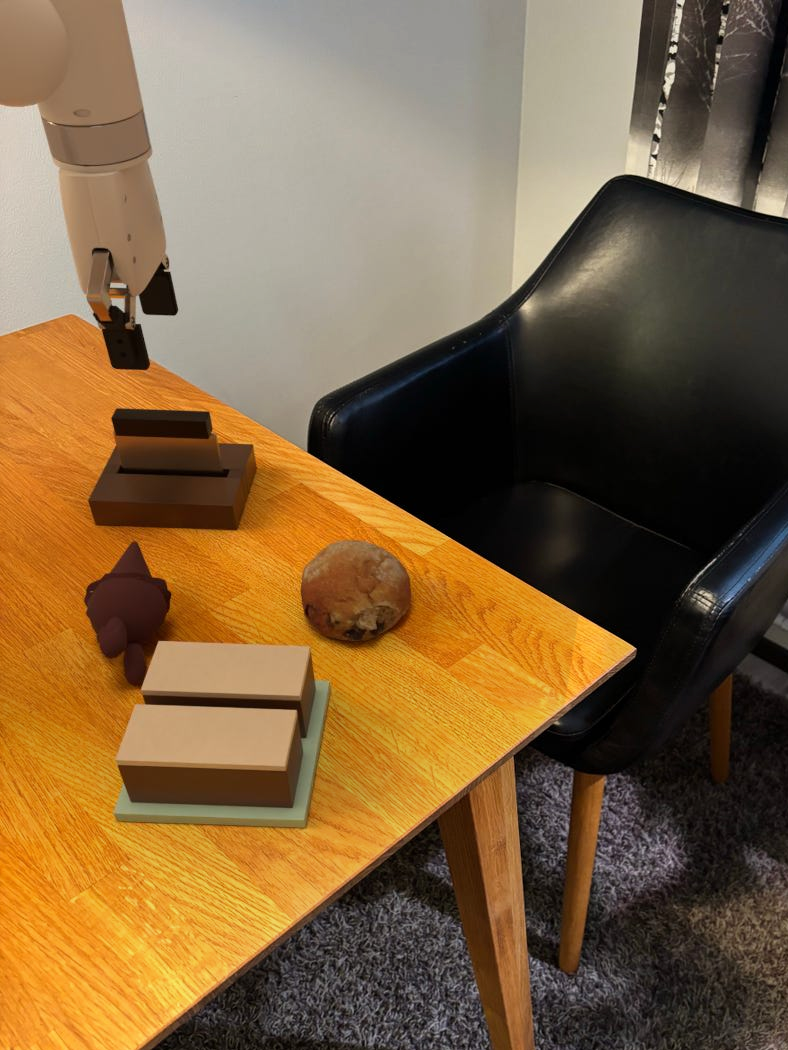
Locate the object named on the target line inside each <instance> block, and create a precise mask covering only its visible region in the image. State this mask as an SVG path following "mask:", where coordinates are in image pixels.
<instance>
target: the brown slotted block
mask: <svg viewBox="0 0 788 1050" xmlns="http://www.w3.org/2000/svg"><path fill="white" fill-rule="evenodd" d="M218 445H219V450H220V455H221V461H222V466H223V471H224V477H199V476H171V475H143V474H124V471H123V468H122V464H121V460H120V456H119V453H118V449H117V445H116V444H115V446H114V448H113V449H112V452H111V454H110V456H109V458H108V460H107V462H106V464H105V466H104V468H103V469H102V472H101V473H100V476H99V477H98V480H97V482H96V484H95V485H94V488H93V490H92V492H91V493H90V496H89V498H88V499H87V502H88V506H89V509H90V512H91V515H92V519H93V522H94V525H96V526H119V527H120V526H121V527H147V528H175V529H176V528H177V529H200V530H201V529H202V530H203V529H204V530H207V529H208V530H229V531H230V530H233V531H237V530H238V527H239V525H240V521H241V519H242V516H243V515H242V514H243V512H244V509H245V506H246V502H247V499H248V496H249V493H250V491H251V488H252V484H253V481H254V477H255V475H256V472H257V469H258V468H257V461H256V454H255V448H254V444H252V443H229V442H223V443H222V442H218Z"/></svg>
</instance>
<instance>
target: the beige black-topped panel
mask: <svg viewBox="0 0 788 1050" xmlns="http://www.w3.org/2000/svg"><path fill="white" fill-rule="evenodd" d="M110 419H111V423H112V427H113V431H112V434H113V438H114V441H115V446H116V445H117V449H118V453H119V456H120V460H121V464H122V468H123V471H124V474H143V475H171V476H199V477H224V471H223V466H222V461H221V455H220V450H219V445H218V443H219V439H218V435H217V433H214V432H213V430H214V428H213V423H212V418H211V413H210V411H208V410H207V411H205V410H202V411H201V410H180V409H152V408H150V409H149V408H123V407H122V408H120V407H116V408H115V409H114V411H113V413H112V416H111V418H110Z"/></svg>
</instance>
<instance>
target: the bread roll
mask: <svg viewBox="0 0 788 1050" xmlns="http://www.w3.org/2000/svg"><path fill="white" fill-rule="evenodd" d="M300 581H301V582H300V598H301V607H302V609H303V614H304V617H305V620H306V622H307V623H308V624H309V625H310V626H311V627H312V628H313V629H314V630H315V631H316V632H318V633H319V634H321V635H322V636H324V637H326V638H329V639H333V640H340V641H341V640H343V641H349V642H359V641H362V642H365V641H369V640H370V639H372V638H375V637H378V636H379V635H381V634H383V633H385V632H387V631H388V630H390V629H391V628H394V626H395V625H396V624H397V623H398V622H399V620H401V618H402V617H403V616H405V615H406V613H407V612H408V610H409V608H410V606H411V602H412V589H411V578H410V574H409V573H408V570H407V568H406V567H405V566H404V564H403V563H402V562H401V561H400V560H399V559H398V558H397V557H396V556H395V555H394V554H392V553H391V552H389V550H387V549H386V548H383V547H381V546H379V545H376V544H374V543H371V542H369V541H364V540H357V539H343V540H337V541H335V542H332V543H329V544H328V545H326V547H324V548H323V549H321V550H320V551H318V552H317V553H316V555H315V556H314V557H313V558H312V559H311V560H309V562H307V564H306V565H305V566H304V568H303V571H302V574H301V578H300Z"/></svg>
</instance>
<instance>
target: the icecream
mask: <svg viewBox="0 0 788 1050" xmlns="http://www.w3.org/2000/svg"><path fill="white" fill-rule="evenodd" d="M172 596H173V593H172V592H171V591H170V590H169V588H168V584H167V581H166V580H165V579H163V578H161V577H155V576H152V574H151V571H150V569H149V566H148V564H147V562H146V559H145V557H144V554H143V552H142V549H141V547H140V545H139V543H138V541H133V540H132V541H131V543H130V544H129V545H128V546H127V547H126V549H125V551H124V552H123V553H122V555H121V556H120V558H119V559H118V560H117V562H116V563H115V565H114V566H113V567H112V569H111V570H110V572H108V573H104V574H103V576H102V577H101V578H100V579H97V580H95V581H93V582H91V583H89V585H87V588H86V590H85V596H84V597H83V603H84V605H85V606H86V608H87V609H86V611H85V615H86V617H87V618H88V619H89V621H90V625H91V628H92V629H93V631H94V634H96V640H97V644H99V650H100V652H101V654H102V655H103V656H104V657H105V658H107V659H110V660H112V659H117V658H119V656H121V655H122V654H123V658H122V659H123V660H122V661H123V662H122V667H123V673H124V674H123V675H124V677H125V680H126V682H127V684H128V685H130V686H138V685H139V684H140V683H141V682H142V681H144V679H145V676H146V672H147V663H146V656H145V655H146V654H145V651H144V649H143V646H142V645H144V644H147V643H149V642H150V641H151V640H152V639H153V638H154V636H155V635H156V634H157V633H158V632H159V631H160V629H161V628H162V627H163V626H164V624H165V623H166V619H167V616H168V613H169V611H170V610H171V599H172Z"/></svg>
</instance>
